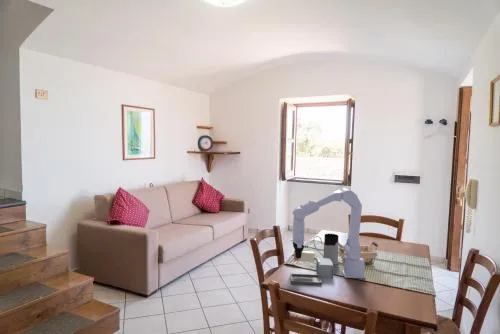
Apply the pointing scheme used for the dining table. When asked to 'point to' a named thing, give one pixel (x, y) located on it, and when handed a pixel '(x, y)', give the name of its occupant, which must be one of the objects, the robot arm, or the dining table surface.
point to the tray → (305, 279)
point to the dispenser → (324, 267)
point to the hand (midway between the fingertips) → (298, 257)
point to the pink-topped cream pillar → (305, 256)
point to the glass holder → (330, 247)
